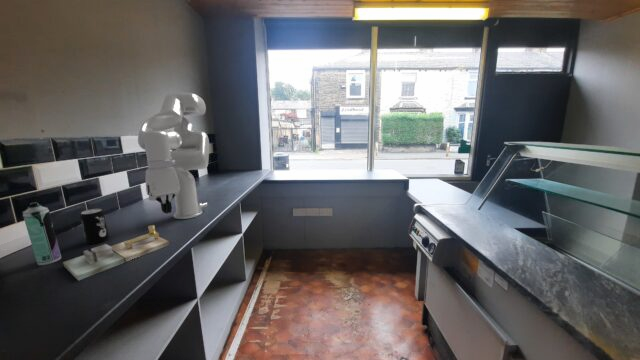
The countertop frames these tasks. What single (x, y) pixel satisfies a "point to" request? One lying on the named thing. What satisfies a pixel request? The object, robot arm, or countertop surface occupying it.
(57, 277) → the countertop surface
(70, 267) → the latch board
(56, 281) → the countertop surface
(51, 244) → the spray can
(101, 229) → the beverage can
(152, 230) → the bolt
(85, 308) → the countertop surface
